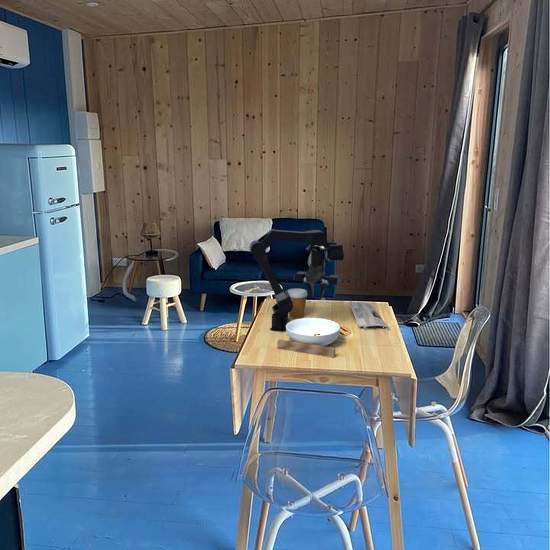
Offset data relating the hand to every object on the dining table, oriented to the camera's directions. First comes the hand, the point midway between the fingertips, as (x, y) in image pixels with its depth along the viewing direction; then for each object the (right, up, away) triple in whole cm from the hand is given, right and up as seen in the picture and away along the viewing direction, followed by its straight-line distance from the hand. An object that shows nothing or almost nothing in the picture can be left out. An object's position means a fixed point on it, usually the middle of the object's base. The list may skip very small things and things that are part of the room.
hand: (316, 298), depth 217 cm
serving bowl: (-3, -17, -14) cm, 22 cm away
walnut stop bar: (-6, -19, -24) cm, 31 cm away
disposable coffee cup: (-8, -9, +18) cm, 22 cm away
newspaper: (+24, -10, +18) cm, 31 cm away
